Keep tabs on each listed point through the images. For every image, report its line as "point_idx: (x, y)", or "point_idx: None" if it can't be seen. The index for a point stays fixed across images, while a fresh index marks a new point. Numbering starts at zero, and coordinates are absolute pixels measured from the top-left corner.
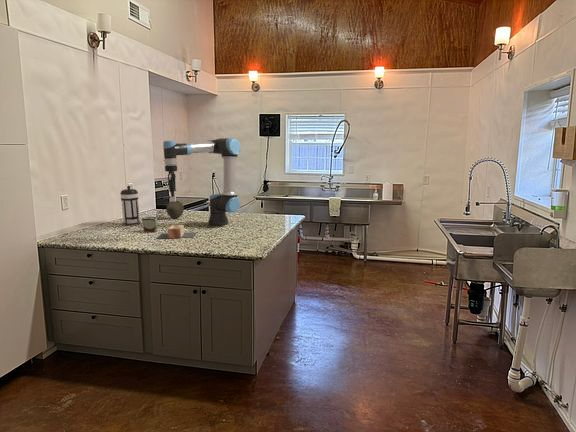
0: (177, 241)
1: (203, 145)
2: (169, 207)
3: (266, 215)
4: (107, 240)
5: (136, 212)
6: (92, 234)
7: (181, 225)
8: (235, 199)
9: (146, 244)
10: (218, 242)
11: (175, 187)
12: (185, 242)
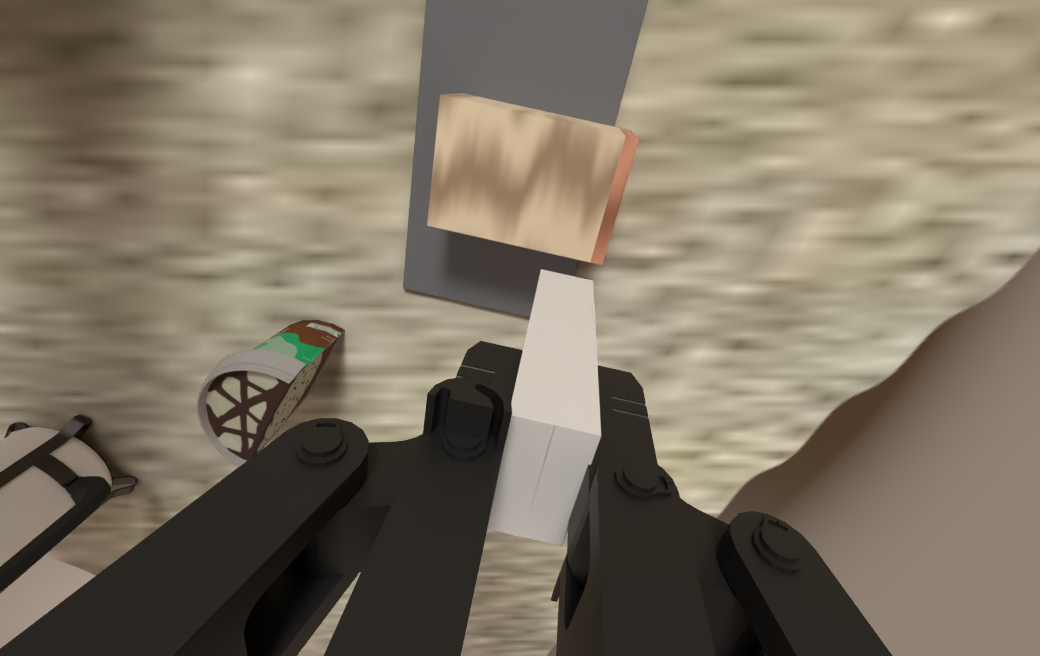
0: (737, 163)
1: None
2: None
3: None
4: (506, 552)
5: (1, 490)
6: (344, 599)
7: (459, 121)
8: None
9: (715, 383)
10: None
11: (245, 485)
12: (822, 85)
